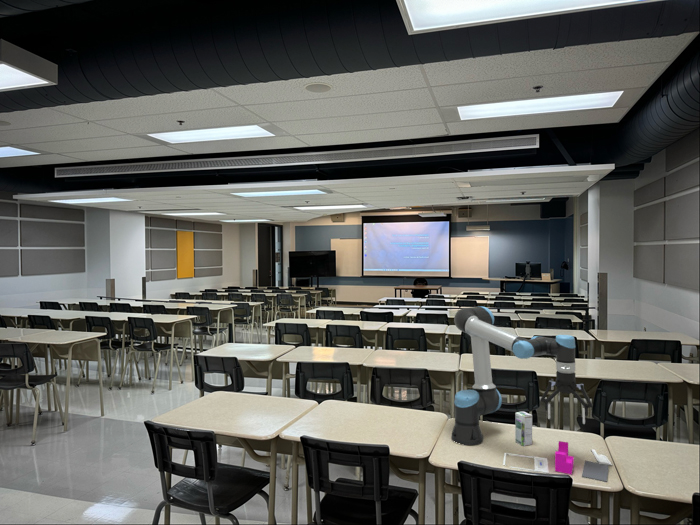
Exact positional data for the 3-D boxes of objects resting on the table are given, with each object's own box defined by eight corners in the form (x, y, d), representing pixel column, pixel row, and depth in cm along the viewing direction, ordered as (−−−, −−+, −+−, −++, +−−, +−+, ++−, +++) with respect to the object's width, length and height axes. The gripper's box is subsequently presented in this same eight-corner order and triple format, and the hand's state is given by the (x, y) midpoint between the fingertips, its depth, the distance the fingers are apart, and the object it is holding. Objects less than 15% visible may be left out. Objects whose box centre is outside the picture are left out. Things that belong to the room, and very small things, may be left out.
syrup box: (514, 442, 225) (514, 412, 225) (524, 440, 227) (524, 410, 227) (522, 446, 220) (522, 416, 220) (532, 444, 222) (532, 414, 222)
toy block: (571, 474, 190) (571, 456, 190) (555, 471, 194) (555, 453, 194) (574, 460, 203) (574, 443, 203) (559, 457, 207) (559, 440, 207)
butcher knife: (603, 452, 212) (603, 449, 212) (612, 465, 198) (612, 462, 198) (591, 450, 213) (591, 448, 213) (599, 463, 199) (599, 461, 199)
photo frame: (548, 472, 192) (502, 465, 198) (548, 474, 192) (502, 468, 198) (547, 457, 205) (504, 452, 212) (547, 460, 205) (504, 454, 212)
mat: (581, 476, 188) (581, 476, 188) (585, 461, 203) (585, 460, 203) (607, 482, 184) (607, 481, 184) (608, 465, 198) (608, 464, 198)
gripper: (533, 370, 202) (534, 418, 202) (598, 376, 190) (599, 427, 190) (535, 366, 209) (536, 413, 209) (598, 372, 197) (598, 422, 197)
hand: (566, 420), depth 200 cm, fingers open, 13 cm apart
